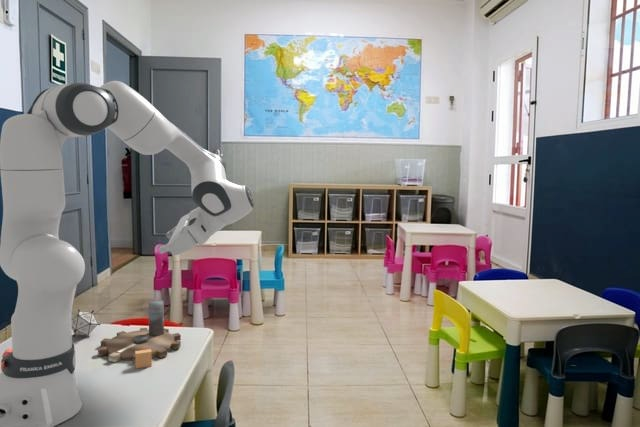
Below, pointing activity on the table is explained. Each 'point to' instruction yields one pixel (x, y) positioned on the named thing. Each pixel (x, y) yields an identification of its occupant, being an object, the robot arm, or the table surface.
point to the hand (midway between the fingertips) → (163, 243)
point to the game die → (83, 323)
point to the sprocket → (142, 338)
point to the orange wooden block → (143, 358)
